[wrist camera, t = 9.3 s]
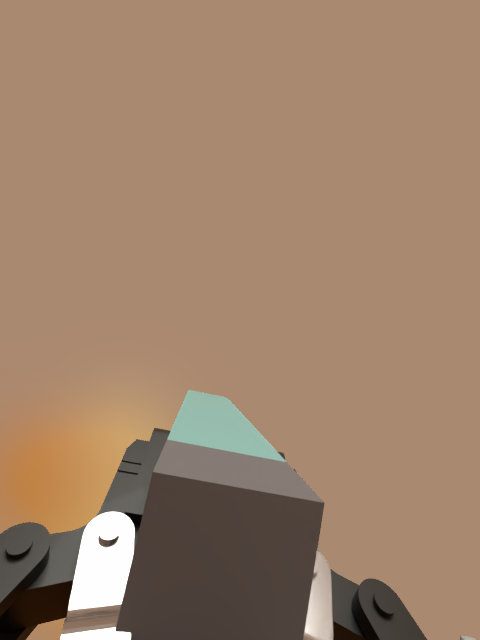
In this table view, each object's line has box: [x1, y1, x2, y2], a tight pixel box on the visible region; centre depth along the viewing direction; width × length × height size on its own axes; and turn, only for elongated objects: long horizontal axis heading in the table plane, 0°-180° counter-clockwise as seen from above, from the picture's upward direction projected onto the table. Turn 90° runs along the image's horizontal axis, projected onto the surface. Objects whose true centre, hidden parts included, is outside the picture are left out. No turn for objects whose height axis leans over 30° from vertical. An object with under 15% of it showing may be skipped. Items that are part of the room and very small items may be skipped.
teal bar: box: [115, 390, 324, 640], centre depth 18 cm, size 24×4×5 cm, turn 7°
